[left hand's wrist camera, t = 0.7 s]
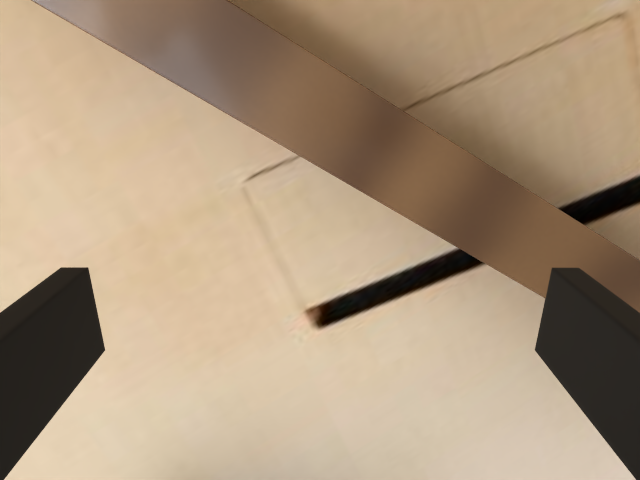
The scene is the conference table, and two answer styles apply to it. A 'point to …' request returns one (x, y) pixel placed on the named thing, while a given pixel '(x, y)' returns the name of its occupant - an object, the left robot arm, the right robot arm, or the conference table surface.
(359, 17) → the conference table surface
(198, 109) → the conference table surface
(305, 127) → the bar
